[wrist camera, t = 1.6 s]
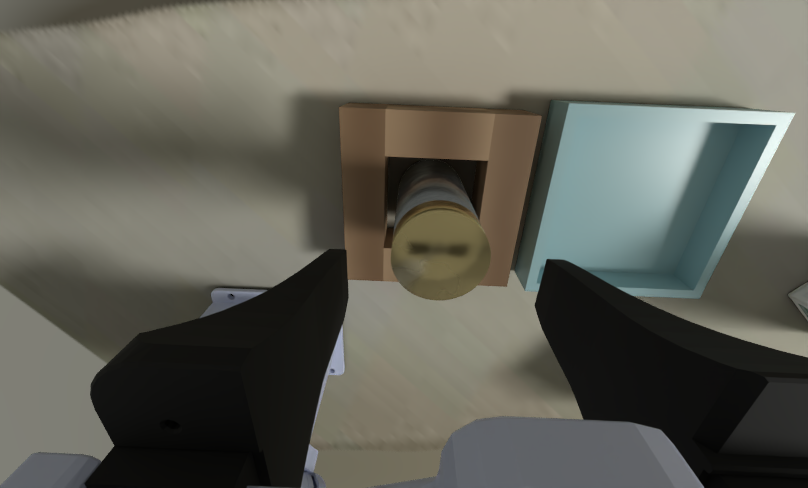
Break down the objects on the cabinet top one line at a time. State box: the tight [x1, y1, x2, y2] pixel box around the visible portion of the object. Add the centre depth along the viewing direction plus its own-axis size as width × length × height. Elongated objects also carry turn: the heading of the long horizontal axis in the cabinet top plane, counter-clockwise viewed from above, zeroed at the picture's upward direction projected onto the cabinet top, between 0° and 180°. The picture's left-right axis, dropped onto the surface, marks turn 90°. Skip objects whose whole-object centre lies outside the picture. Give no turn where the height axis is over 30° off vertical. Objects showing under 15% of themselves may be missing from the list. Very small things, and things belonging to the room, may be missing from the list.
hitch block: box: [339, 103, 542, 287], centre depth 20 cm, size 10×10×3 cm
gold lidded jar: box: [391, 159, 491, 300], centre depth 18 cm, size 4×4×9 cm
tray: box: [515, 100, 795, 299], centre depth 21 cm, size 11×11×2 cm
